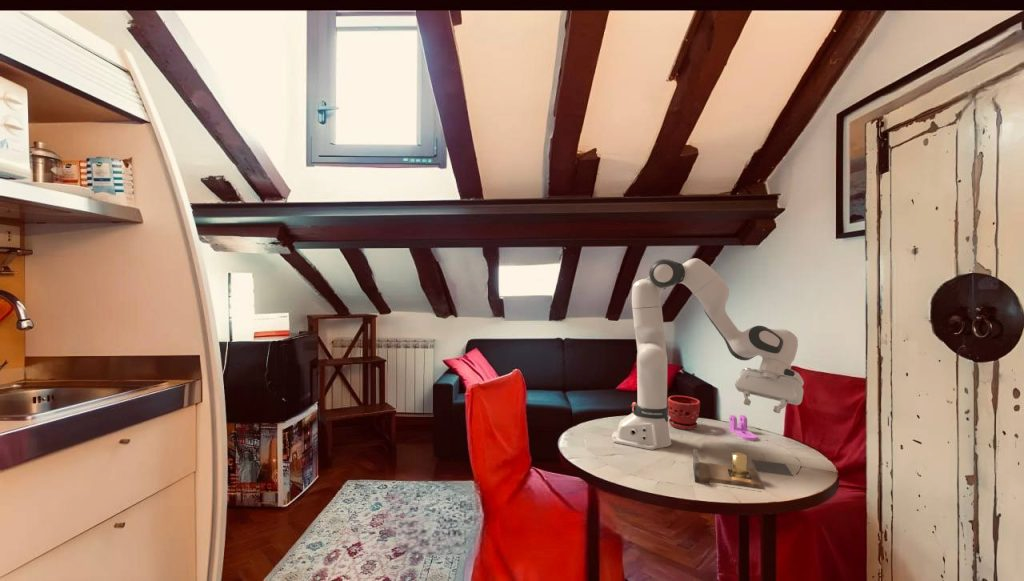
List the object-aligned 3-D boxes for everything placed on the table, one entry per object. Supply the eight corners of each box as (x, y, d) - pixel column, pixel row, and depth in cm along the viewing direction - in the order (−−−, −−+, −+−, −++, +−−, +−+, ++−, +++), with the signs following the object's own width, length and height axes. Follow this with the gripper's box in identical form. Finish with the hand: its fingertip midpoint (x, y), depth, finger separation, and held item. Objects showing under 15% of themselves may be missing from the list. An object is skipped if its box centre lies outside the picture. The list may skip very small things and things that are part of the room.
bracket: (729, 430, 179) (729, 413, 179) (742, 430, 179) (742, 414, 179) (745, 441, 166) (745, 423, 166) (759, 441, 166) (759, 423, 166)
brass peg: (732, 482, 130) (732, 456, 130) (731, 476, 134) (731, 451, 134) (747, 484, 129) (747, 458, 129) (745, 478, 133) (745, 453, 133)
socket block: (694, 482, 131) (694, 462, 131) (693, 466, 142) (693, 449, 142) (761, 491, 124) (761, 471, 124) (754, 475, 135) (754, 456, 135)
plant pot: (665, 428, 181) (665, 400, 181) (669, 420, 192) (669, 394, 192) (698, 433, 175) (698, 404, 175) (701, 424, 186) (701, 397, 186)
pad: (757, 474, 136) (757, 471, 136) (751, 462, 145) (751, 459, 145) (793, 479, 132) (793, 476, 132) (785, 466, 142) (785, 463, 142)
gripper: (739, 362, 153) (726, 396, 149) (804, 374, 137) (791, 412, 133) (745, 371, 157) (733, 404, 152) (809, 383, 140) (797, 421, 136)
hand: (760, 408), depth 142 cm, fingers open, 8 cm apart
